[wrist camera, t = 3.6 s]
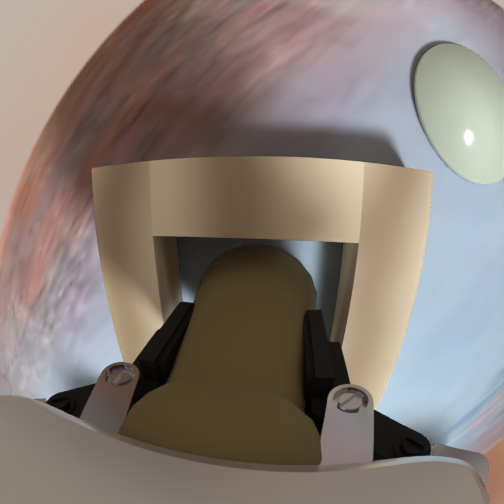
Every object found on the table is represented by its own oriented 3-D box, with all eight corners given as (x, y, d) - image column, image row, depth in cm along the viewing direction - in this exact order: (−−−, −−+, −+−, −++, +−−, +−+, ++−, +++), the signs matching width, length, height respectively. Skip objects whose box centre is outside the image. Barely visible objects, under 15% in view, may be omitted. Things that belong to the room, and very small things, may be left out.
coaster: (506, 72, 8) (509, 70, 7) (514, 193, 10) (518, 194, 10) (404, 28, 9) (407, 25, 8) (415, 171, 11) (419, 171, 11)
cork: (199, 340, 15) (117, 513, 5) (200, 237, 13) (26, 406, 3) (305, 355, 15) (309, 549, 4) (327, 252, 13) (412, 483, 2)
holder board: (406, 170, 11) (433, 171, 9) (361, 397, 15) (368, 426, 13) (122, 166, 12) (91, 168, 10) (154, 382, 17) (139, 407, 14)
